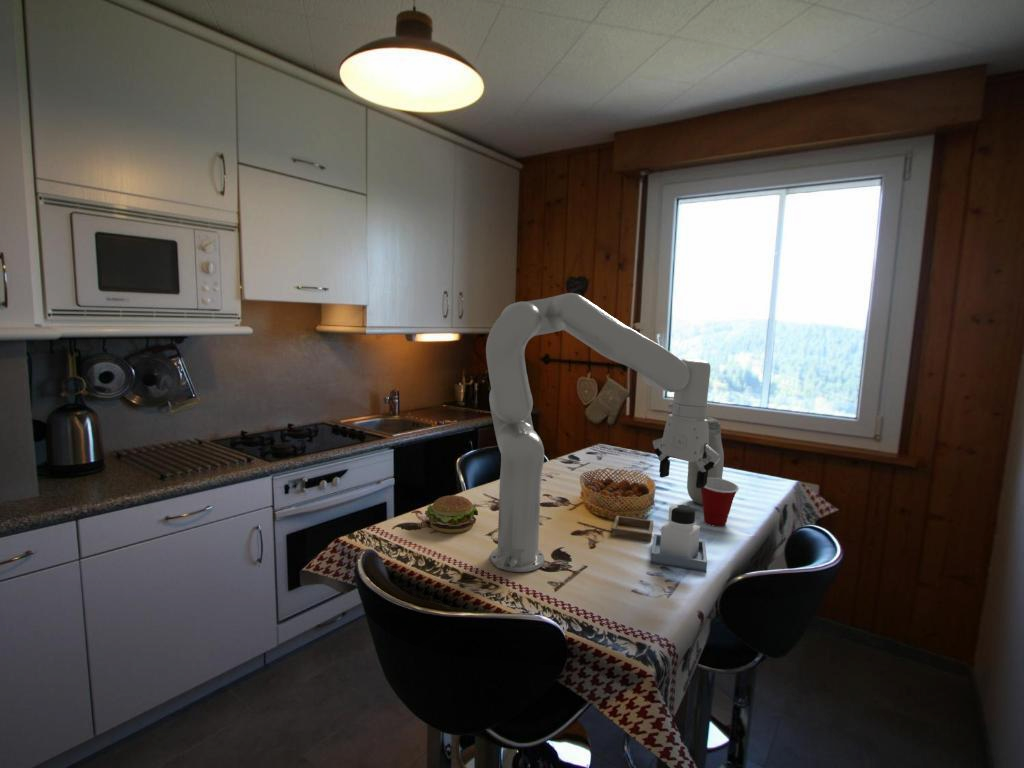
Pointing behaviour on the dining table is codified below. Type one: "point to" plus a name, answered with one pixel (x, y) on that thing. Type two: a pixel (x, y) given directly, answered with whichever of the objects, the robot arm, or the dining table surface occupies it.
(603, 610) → the dining table surface
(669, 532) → the medicine bottle
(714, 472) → the grey bottle
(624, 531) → the collar
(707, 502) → the plastic cup
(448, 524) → the food
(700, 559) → the tray
